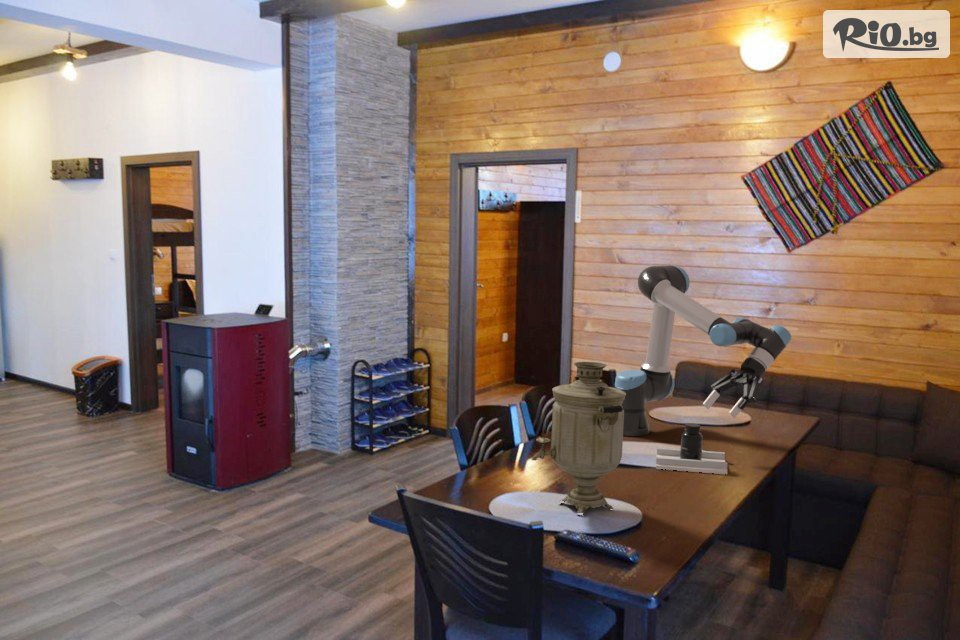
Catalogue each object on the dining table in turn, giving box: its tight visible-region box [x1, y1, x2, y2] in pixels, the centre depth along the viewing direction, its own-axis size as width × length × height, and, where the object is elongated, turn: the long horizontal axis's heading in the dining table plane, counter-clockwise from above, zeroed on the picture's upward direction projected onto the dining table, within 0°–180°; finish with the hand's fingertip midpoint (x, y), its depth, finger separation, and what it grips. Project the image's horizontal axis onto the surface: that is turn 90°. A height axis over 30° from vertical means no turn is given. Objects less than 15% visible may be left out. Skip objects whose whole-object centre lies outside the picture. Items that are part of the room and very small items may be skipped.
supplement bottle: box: [680, 422, 704, 460], centre depth 243 cm, size 7×7×12 cm
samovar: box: [531, 361, 626, 514], centre depth 202 cm, size 30×26×40 cm
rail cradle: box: [655, 447, 729, 475], centre depth 243 cm, size 22×16×3 cm
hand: (718, 410), depth 245 cm, fingers open, 13 cm apart
